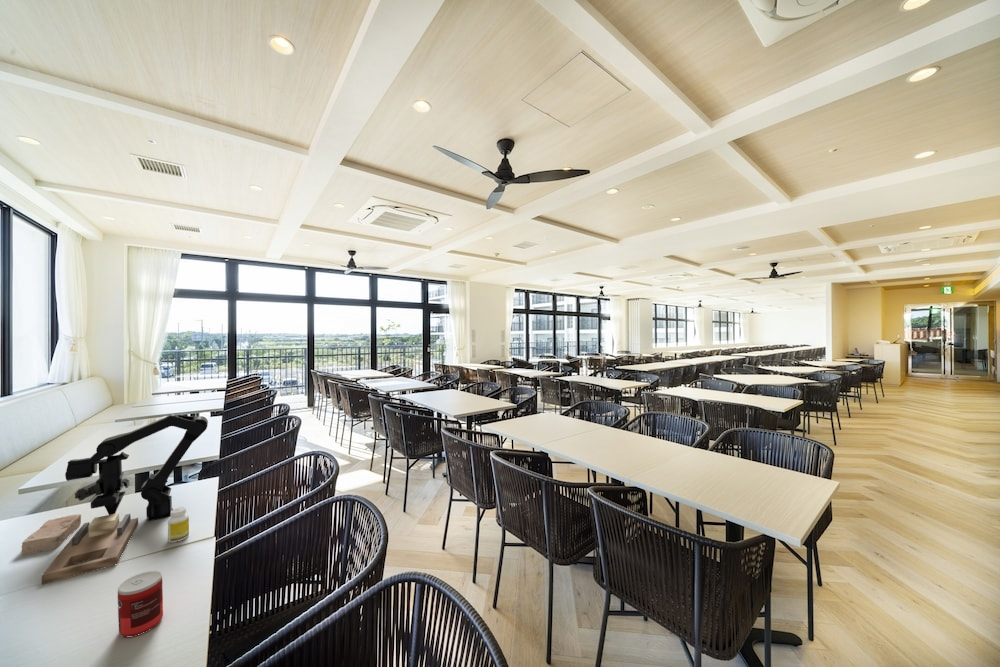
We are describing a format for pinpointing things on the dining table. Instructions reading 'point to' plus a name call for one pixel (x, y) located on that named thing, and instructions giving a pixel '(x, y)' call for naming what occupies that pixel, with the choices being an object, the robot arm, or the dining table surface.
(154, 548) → the dining table surface
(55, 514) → the dining table surface
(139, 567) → the dining table surface
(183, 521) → the supplement bottle
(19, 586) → the dining table surface
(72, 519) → the brick
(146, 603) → the canned food
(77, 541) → the lane board
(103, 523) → the block
